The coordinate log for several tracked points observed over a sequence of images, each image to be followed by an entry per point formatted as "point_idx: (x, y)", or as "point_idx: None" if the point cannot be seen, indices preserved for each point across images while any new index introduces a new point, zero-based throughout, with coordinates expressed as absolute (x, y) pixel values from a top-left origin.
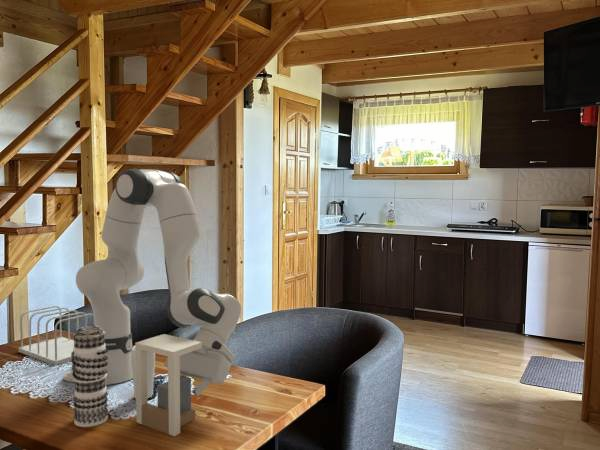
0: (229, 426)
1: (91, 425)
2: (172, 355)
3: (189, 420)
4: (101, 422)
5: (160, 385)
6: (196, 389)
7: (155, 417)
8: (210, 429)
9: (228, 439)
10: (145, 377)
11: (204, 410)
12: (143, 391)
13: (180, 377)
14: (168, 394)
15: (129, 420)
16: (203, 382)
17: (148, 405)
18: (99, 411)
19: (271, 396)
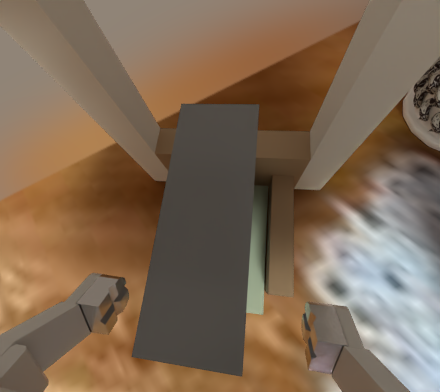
0: (39, 287)
1: (410, 89)
2: None
3: None
4: (405, 111)
5: (245, 116)
6: (89, 288)
7: None
8: (86, 240)
9: (19, 215)
10: (372, 34)
11: (176, 369)
12: (331, 99)
13: (224, 318)
14: (119, 60)
15: (351, 167)
16: (11, 335)
17: (287, 147)
18: (433, 75)
19: None
